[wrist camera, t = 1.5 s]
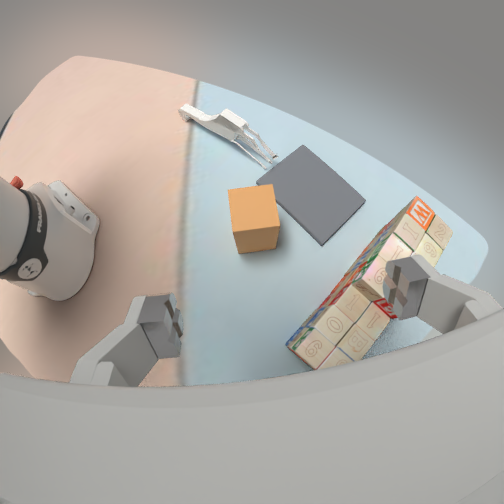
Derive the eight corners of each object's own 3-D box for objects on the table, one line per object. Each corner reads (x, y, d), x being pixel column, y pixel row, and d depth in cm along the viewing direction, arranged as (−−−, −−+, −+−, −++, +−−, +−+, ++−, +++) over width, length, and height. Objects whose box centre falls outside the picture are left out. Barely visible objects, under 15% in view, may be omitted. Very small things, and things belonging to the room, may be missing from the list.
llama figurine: (258, 173, 49) (183, 109, 45) (283, 152, 38) (189, 74, 34) (252, 180, 48) (176, 116, 44) (275, 161, 37) (180, 81, 34)
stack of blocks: (318, 374, 34) (345, 394, 22) (283, 344, 35) (295, 352, 23) (408, 257, 38) (455, 230, 26) (378, 229, 39) (417, 193, 27)
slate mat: (256, 183, 41) (256, 181, 40) (302, 147, 43) (303, 144, 42) (321, 245, 38) (322, 244, 38) (364, 202, 40) (365, 200, 39)
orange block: (238, 253, 38) (232, 232, 30) (234, 219, 40) (227, 189, 31) (275, 248, 38) (280, 225, 30) (269, 214, 40) (272, 184, 31)
